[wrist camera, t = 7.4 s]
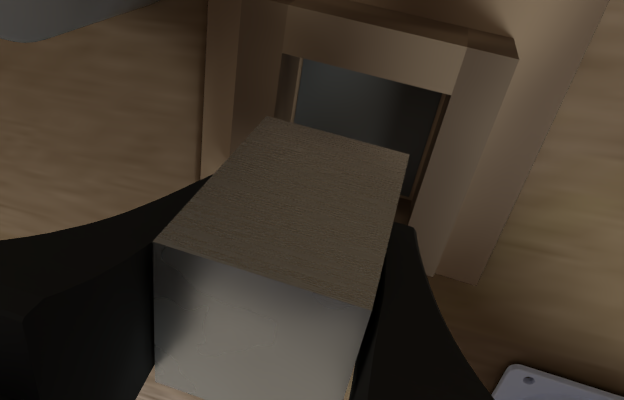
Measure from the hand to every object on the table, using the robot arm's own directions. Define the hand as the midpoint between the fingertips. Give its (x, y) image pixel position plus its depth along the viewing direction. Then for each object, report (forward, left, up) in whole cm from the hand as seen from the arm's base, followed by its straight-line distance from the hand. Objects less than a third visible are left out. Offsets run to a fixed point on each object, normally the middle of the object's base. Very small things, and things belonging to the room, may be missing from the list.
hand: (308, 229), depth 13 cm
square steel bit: (0, 0, -2) cm, 2 cm away
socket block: (0, 0, -8) cm, 8 cm away
